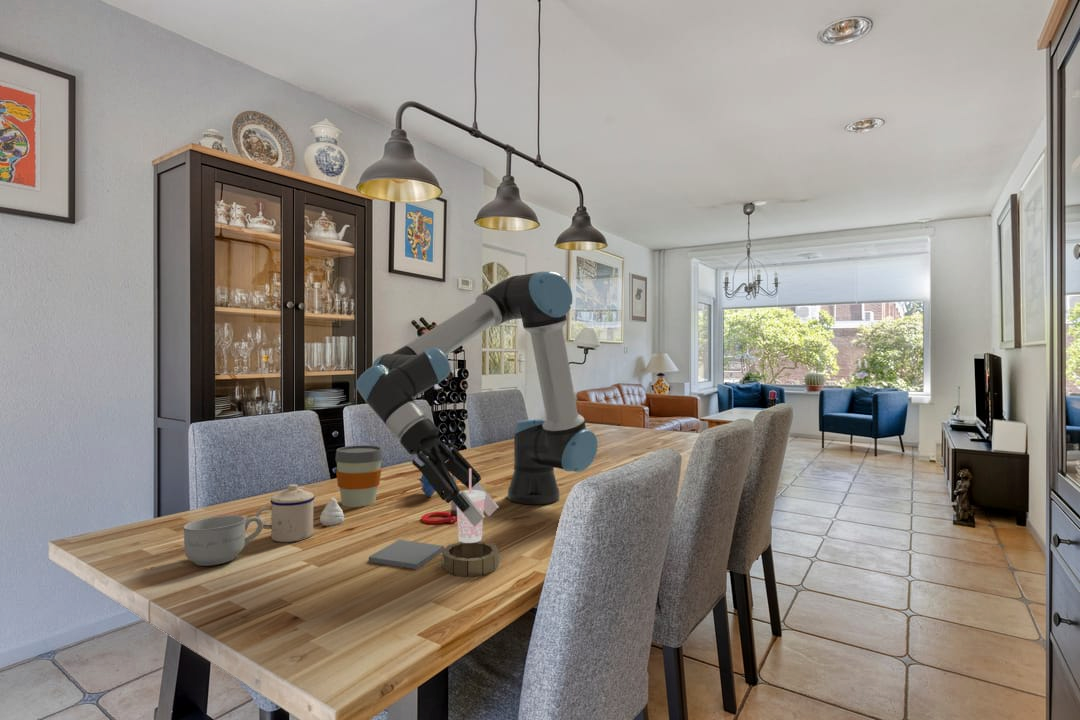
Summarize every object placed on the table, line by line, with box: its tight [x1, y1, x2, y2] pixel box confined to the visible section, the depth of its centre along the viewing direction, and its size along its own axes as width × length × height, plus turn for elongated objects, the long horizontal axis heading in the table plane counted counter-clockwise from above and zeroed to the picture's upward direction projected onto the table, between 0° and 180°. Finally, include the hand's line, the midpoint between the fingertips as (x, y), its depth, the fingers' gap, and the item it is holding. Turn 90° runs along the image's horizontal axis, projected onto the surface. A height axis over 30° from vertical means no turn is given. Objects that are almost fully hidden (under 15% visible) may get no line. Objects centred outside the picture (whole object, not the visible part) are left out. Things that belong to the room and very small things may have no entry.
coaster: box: [368, 539, 445, 570], centre depth 114 cm, size 11×11×1 cm
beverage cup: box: [456, 468, 486, 543], centre depth 109 cm, size 6×6×14 cm
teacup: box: [183, 514, 264, 567], centre depth 110 cm, size 14×11×8 cm
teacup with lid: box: [255, 483, 315, 543], centre depth 124 cm, size 12×9×12 cm
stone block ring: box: [441, 540, 500, 578], centre depth 109 cm, size 11×11×3 cm
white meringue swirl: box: [319, 497, 345, 526], centre depth 135 cm, size 6×6×5 cm
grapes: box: [419, 474, 436, 497], centre depth 161 cm, size 12×7×12 cm, turn 29°
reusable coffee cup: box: [334, 444, 384, 508], centre depth 153 cm, size 13×13×15 cm
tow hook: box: [420, 474, 457, 525], centre depth 139 cm, size 8×13×9 cm
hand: (486, 516), depth 108 cm, fingers closed on beverage cup, 6 cm apart
